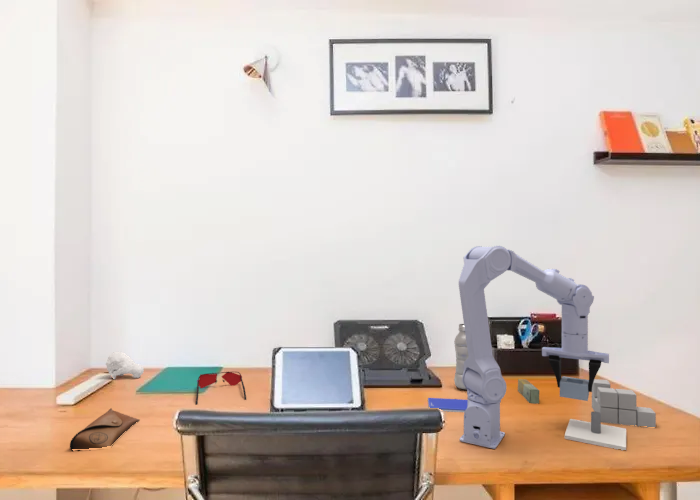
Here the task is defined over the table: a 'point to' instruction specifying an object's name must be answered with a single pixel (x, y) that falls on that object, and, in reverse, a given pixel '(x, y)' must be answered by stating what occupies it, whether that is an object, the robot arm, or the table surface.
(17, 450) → the table surface
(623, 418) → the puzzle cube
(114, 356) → the white lumpy piece
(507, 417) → the table surface
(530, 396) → the medication box
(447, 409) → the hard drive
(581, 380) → the grey square ring
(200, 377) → the glasses
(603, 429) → the post plate
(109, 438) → the sunglasses case
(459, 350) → the plastic bottle
